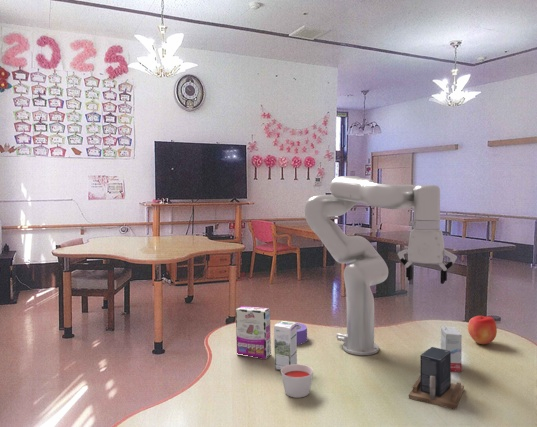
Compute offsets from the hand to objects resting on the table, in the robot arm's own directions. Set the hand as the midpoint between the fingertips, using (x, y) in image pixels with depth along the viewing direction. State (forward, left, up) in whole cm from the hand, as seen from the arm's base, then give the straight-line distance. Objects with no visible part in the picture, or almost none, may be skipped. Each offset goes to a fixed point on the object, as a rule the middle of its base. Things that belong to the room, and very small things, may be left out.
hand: (426, 281), depth 137 cm
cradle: (+6, -14, -28) cm, 32 cm away
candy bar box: (-54, -15, -28) cm, 63 cm away
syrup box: (-39, -19, -28) cm, 52 cm away
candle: (-28, -32, -29) cm, 51 cm away
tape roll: (-50, +5, -29) cm, 58 cm away
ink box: (+6, +8, -29) cm, 30 cm away
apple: (+12, +35, -28) cm, 47 cm away
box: (+6, -13, -28) cm, 31 cm away
